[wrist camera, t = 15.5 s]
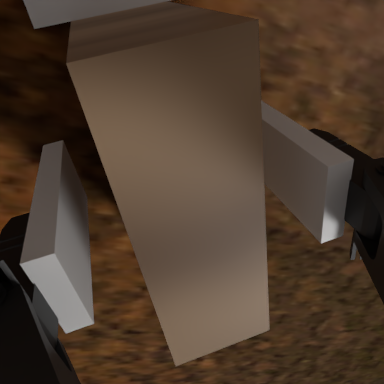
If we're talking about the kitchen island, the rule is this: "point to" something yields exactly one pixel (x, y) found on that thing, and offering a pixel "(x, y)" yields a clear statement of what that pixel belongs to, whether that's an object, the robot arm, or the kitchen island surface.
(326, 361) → the kitchen island surface
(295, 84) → the kitchen island surface
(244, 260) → the bookend
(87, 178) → the kitchen island surface
